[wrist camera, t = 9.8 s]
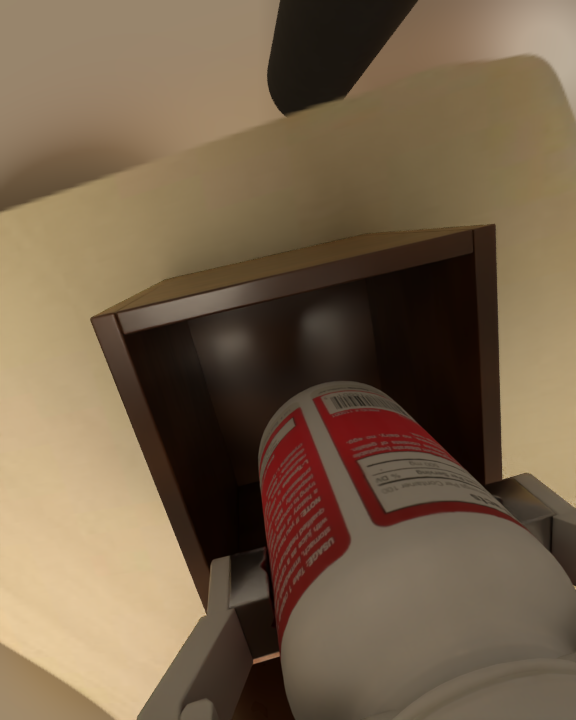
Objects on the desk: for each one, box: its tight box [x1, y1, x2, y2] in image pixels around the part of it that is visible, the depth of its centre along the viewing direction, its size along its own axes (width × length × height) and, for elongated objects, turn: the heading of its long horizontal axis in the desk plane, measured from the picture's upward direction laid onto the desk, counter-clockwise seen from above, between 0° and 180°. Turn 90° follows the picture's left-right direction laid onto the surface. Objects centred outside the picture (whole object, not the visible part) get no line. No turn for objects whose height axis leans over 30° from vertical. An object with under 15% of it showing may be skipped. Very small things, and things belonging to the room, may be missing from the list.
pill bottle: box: [258, 381, 576, 720], centre depth 10 cm, size 6×6×11 cm
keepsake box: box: [90, 224, 502, 660], centre depth 21 cm, size 17×14×13 cm
